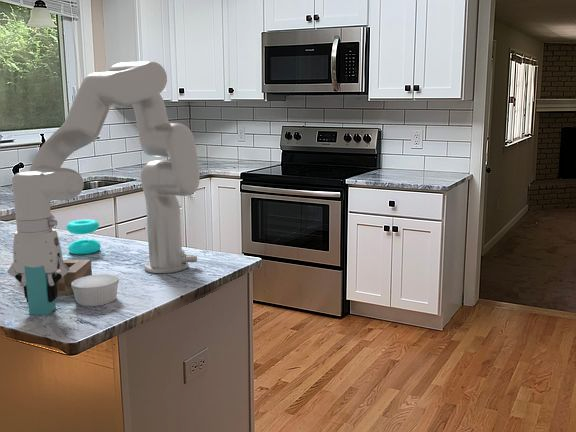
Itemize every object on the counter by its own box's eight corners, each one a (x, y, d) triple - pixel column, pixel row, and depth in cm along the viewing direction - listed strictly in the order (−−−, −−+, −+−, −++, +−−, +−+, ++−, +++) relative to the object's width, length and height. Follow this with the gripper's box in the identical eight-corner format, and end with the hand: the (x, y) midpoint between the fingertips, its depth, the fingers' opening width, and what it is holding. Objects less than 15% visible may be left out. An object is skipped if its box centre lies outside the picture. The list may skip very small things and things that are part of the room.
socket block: (92, 280, 170) (90, 259, 169) (77, 294, 159) (75, 272, 157) (49, 280, 171) (47, 260, 169) (30, 295, 159) (28, 272, 158)
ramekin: (65, 301, 154) (63, 280, 153) (105, 290, 162) (104, 271, 161) (86, 311, 146) (84, 290, 145) (128, 300, 154) (126, 280, 153)
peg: (55, 308, 149) (51, 260, 147) (48, 314, 145) (43, 265, 142) (37, 308, 149) (32, 260, 147) (29, 314, 145) (24, 265, 142)
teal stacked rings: (84, 217, 207) (105, 220, 201) (86, 246, 209) (107, 249, 203) (59, 223, 198) (80, 226, 193) (62, 253, 200) (83, 257, 195)
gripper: (76, 221, 146) (82, 295, 150) (5, 222, 146) (13, 295, 150) (64, 228, 139) (71, 305, 142) (-10, 229, 139) (-2, 306, 143)
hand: (41, 299), depth 146 cm, fingers closed on peg, 4 cm apart
